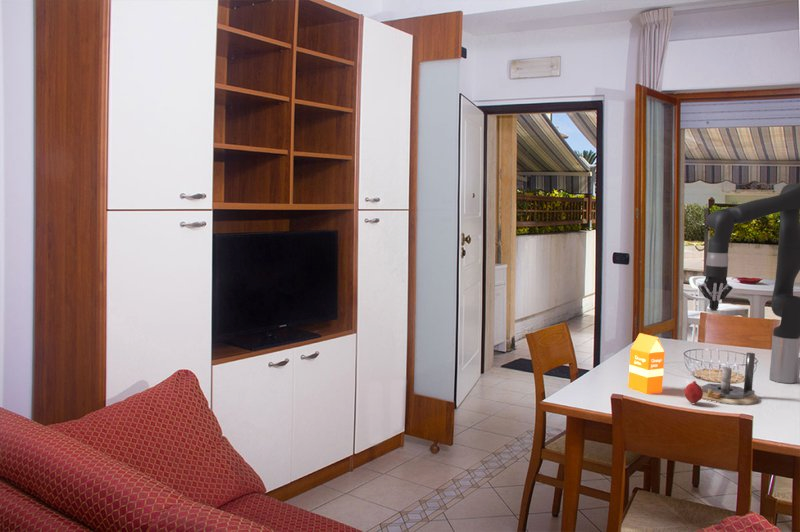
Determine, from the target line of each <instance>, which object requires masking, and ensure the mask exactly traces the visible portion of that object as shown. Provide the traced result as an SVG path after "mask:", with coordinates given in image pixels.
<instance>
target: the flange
mask: <svg viewBox="0 0 800 532" xmlns="http://www.w3.org/2000/svg"><path fill="white" fill-rule="evenodd" d="M745 358H746V359H745V370H744V383H743V387H740V386H738V385H737V386H736V385H731V384H730V391H723V390H721V383H707V384H705V385H704V386H703V385H701V386H702V390H703V391H704V392H706V393H707V394H708V389H712V393H711V396H710V397H713V398H717V399H718V398H720V397H724V398H745V397H747V396H749V394H755V393H756V391H755V390H754V389H753V381H754V371H755V370H754V368H755V360H756V359H755V358H756V353H754V352H746V357H745ZM755 395H756V394H755Z"/></svg>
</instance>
